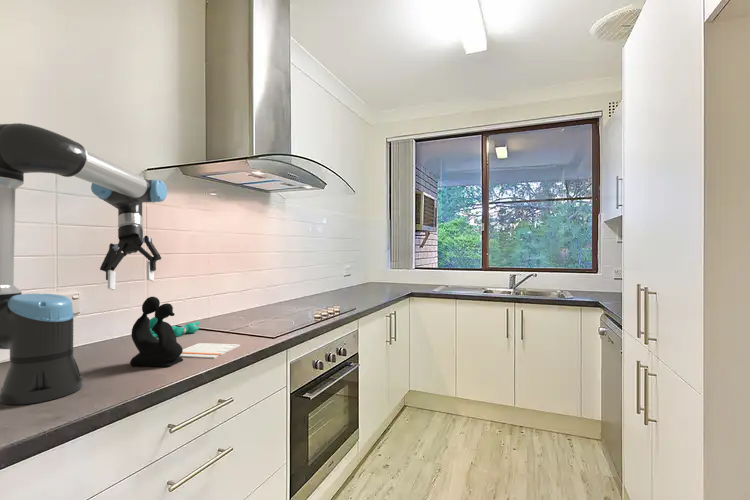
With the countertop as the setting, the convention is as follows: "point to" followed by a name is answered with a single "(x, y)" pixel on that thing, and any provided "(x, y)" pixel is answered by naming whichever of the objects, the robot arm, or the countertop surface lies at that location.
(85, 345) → the countertop surface
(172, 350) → the figurine
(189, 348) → the mat
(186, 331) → the toy
